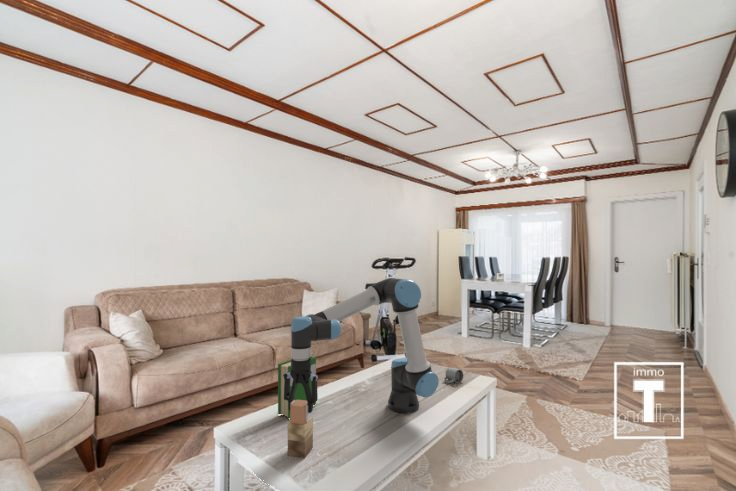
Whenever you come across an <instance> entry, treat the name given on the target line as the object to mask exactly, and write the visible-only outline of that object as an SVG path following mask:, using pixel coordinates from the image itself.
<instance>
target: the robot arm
mask: <svg viewBox="0 0 736 491" xmlns="http://www.w3.org/2000/svg"><path fill="white" fill-rule="evenodd" d="M421 291H422V290H421V288H420V286H419V285H418V284H417V283H416V282H415V281H413V280H411V279H407V278H395V277H389V278H385V279H383V280H381V281H378V282H376V283H373V284H372V285H369V286H368V287H367V289H366V290H364V291H362V292H360V293H358V294H355V295H354V296H352V297H349V298H347V299H345V300H343V301H340V302H339V303H336V304H334V305H332V306H331V307H330V306H329V307H328V308H326V309H324V310H321V311H319V312H317V313H314V314H313V313H311V314H310V313H309V314H307V315H305V316H303V315H302V316H301V315H300V316H296V317H293V319H292V320H291V326H290V331H291V332H290V334H291V335H290V336H291V337H290V338H291V343H290V344H291V347H290V349H291V350H290V358H291V359H290V360H291V371H290V372H287V373H285V374H284V375H283V376H284V380H285V383H284V400H287V401H288V402H289V408H288V409H289V410H290V405H291V404H293V403H294V402H295V401H296V400H293V399H294V396H295V393H296V389H297V385H298V383H301V384H302V385H303V387H304V390H305V394H306V399H307V404H306V422H308V421H309V420H310V417H311V413H312V412H313V409H314V408H313V403H315V402H316V403H317V401H318V400H319V398H318V379H319V375H318V374H316V375H313V374H312V372H311V358H310V357H311V356H312V342H317V341H327V340H334V339H338V338H339V337H340V336H341V333H342V327H341V326H342V325H341V323H340V322H341V321H342V322H343V321H344V320H345V319H348V318H349V317H352V316H354V315H356V314H358V313H360V312H362V311H364V310H366V309H369V308H370V307H372V306H377V307H378V306H379V305H382V304H386V303H389V304H391V307H392V311H393V313H395V314H396V316H397V320H398V323H399V328H400V333H401V338H402V342H403V343H402V344H403V348H404V352H405V356H406V357H398V358H395V359H392V361H391V367H390V369H391V371H390V372H391V376H390V377H391V389H390V390H391V391H390V394H389V397H388V401H387V407H388V409H389V410H391V411H393V412H396V413H401V414H402V413H404V414H406V413H407V414H408V413H409V414H410V413H413V412H416V411H418V410H419V408H420V401H419V398H418V397H419V396H420V397H422V398H429V397H431V396H433V395H434V394H435V393H436V391H437V389H438V387H439V380H440V379H439V376H438V374H437V373H436V372H434V371H433V370H432V365H431V362H430V361H429V360H428V359H427V358H426V353H425V348H424V343H423V339H422V334H421V330H420V329H421V328H420V322H419V319H418V318H419V317H418V313H417V310H418V309H419V307H420V306H419V303H420V302H421V301H420V300H421V299H422V292H421ZM290 377H292V378H293V383H292V388H291V391H290ZM310 377H311V381H312V394H311V390H310V386H309V378H310Z"/></svg>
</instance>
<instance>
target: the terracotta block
mask: <svg viewBox="0 0 736 491" xmlns="http://www.w3.org/2000/svg"><path fill="white" fill-rule="evenodd" d="M306 404H307V401H305V400H296V401H295V402H294V403H293V404H291V405H290V420H289V422H290V423H295V424H302V425H304V424H305V423H306Z"/></svg>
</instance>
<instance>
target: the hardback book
mask: <svg viewBox="0 0 736 491" xmlns="http://www.w3.org/2000/svg"><path fill="white" fill-rule="evenodd" d="M310 358H311V372H312V374H313V375H317V357H316V356H312V355H311V357H310ZM290 371H291V359H289V360H286V361H283V362H280V363H278V364H277V415H278V414H283V415H285V416H287V417H286V418H287V419H288V418H290V410H289V409H288V408H289V402H288V401H287V400H284V383H285V380H284V376H283V375H284V374H285V373H287V372H290ZM292 383H293V378H292V377H290V391H291V388H292ZM309 386H310V390H311V394H312V381H311V377H310V378H309ZM293 400H305V401H307V399H306V394H305V390H304V387H303V385H302V384H301V383H298V385H297V389H296V393H295V396H294V399H293ZM315 404H316V405H317V401H316V402H315V403H313V405H315ZM283 415H282V416H283ZM285 416H284V417H285Z"/></svg>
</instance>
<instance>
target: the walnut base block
mask: <svg viewBox="0 0 736 491" xmlns="http://www.w3.org/2000/svg"><path fill="white" fill-rule="evenodd" d="M313 433H314V432H313ZM313 433H312V435H311V436H310V437H309V438H308V439H307V440H306V441H305V442H300V441H293V440H288V439H287V456H288V457H293V458H300V459H306V458H307V456H308V455H309V454H310V453H311V451H312V450H313V449H314V434H313ZM312 448H313V449H312Z"/></svg>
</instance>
